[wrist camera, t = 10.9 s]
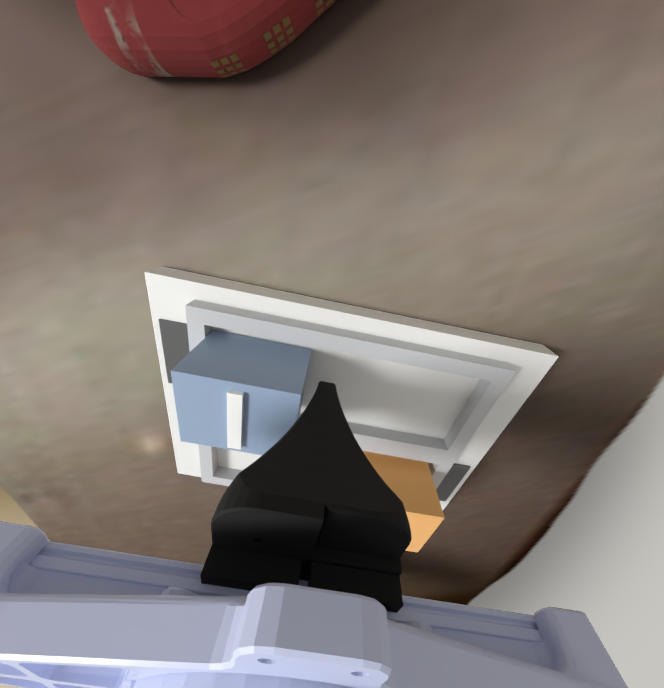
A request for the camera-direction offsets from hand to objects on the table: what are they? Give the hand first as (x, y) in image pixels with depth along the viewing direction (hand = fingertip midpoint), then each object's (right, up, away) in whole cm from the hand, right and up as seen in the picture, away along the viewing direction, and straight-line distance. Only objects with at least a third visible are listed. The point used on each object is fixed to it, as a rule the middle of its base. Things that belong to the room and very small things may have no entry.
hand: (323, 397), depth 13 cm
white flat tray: (0, -2, +4) cm, 4 cm away
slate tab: (-3, +1, +1) cm, 4 cm away
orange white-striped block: (+4, -6, +4) cm, 8 cm away
